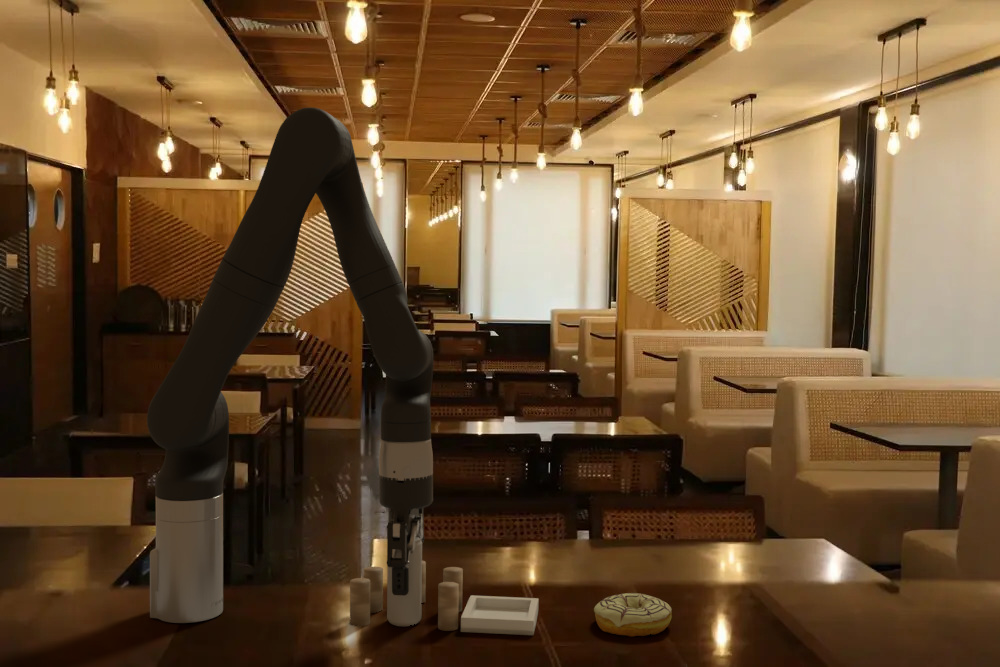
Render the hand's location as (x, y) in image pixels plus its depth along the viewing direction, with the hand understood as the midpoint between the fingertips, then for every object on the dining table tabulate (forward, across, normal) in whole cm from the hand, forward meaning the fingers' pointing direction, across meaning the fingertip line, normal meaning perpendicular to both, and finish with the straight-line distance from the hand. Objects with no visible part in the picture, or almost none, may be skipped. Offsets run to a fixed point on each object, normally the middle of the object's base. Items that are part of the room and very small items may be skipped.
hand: (406, 585), depth 143 cm
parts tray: (+5, -2, +13) cm, 14 cm away
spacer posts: (+5, -4, 0) cm, 6 cm away
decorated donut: (+6, -3, +32) cm, 32 cm away
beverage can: (+5, 0, 0) cm, 5 cm away
